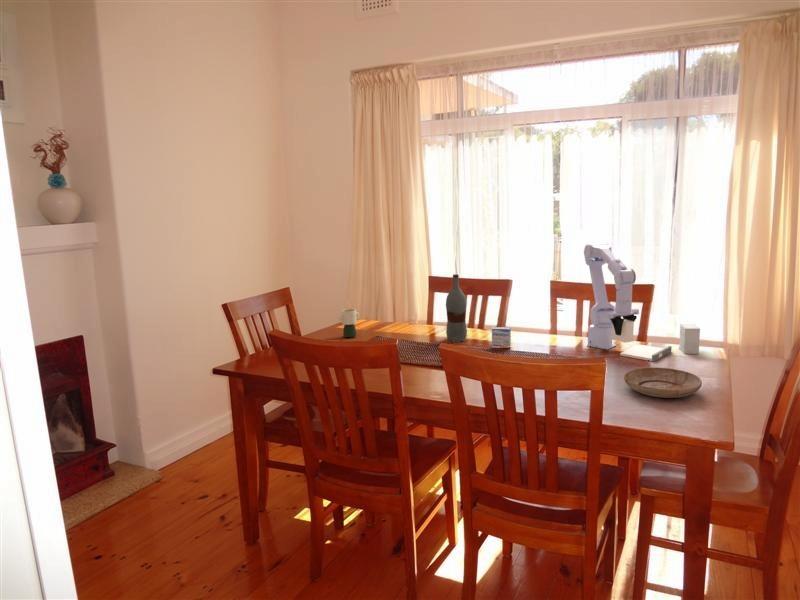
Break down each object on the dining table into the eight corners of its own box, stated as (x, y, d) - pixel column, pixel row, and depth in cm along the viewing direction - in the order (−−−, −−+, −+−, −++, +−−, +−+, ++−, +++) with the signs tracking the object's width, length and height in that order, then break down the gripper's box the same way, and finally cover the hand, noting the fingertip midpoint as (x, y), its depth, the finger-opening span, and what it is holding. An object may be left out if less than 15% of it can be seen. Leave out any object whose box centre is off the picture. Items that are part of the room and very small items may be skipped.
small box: (698, 354, 239) (700, 328, 237) (683, 354, 240) (685, 328, 238) (693, 348, 246) (694, 323, 244) (678, 348, 247) (680, 323, 245)
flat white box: (620, 355, 240) (620, 349, 240) (638, 346, 252) (638, 341, 252) (654, 361, 231) (655, 355, 230) (671, 352, 243) (672, 346, 242)
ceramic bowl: (624, 378, 214) (625, 364, 213) (697, 383, 205) (698, 369, 204) (622, 400, 192) (623, 385, 192) (704, 407, 184) (705, 392, 183)
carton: (625, 342, 233) (626, 322, 231) (611, 338, 239) (612, 319, 238) (633, 341, 235) (634, 321, 233) (619, 337, 241) (620, 317, 239)
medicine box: (491, 348, 257) (491, 328, 256) (492, 345, 261) (492, 326, 260) (510, 349, 255) (510, 329, 254) (510, 346, 259) (510, 326, 258)
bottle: (444, 342, 270) (442, 276, 264) (449, 337, 279) (447, 273, 273) (464, 343, 267) (463, 276, 261) (468, 338, 276) (468, 273, 270)
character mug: (355, 333, 291) (354, 307, 289) (363, 336, 286) (362, 309, 283) (336, 337, 285) (334, 310, 282) (344, 340, 279) (342, 313, 277)
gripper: (617, 304, 227) (616, 338, 230) (645, 299, 234) (644, 333, 236) (604, 301, 234) (603, 334, 236) (631, 297, 240) (630, 330, 242)
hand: (622, 334), depth 237 cm, fingers closed on carton, 4 cm apart
